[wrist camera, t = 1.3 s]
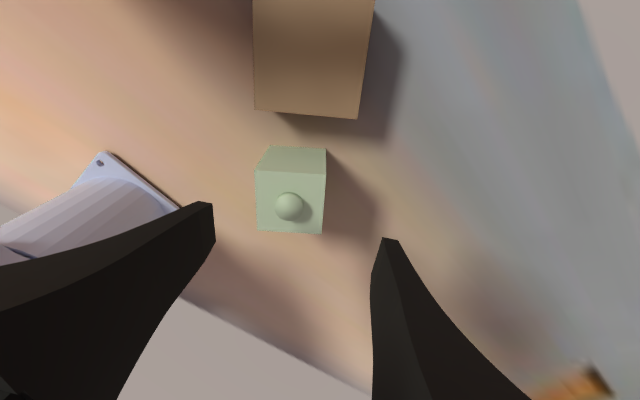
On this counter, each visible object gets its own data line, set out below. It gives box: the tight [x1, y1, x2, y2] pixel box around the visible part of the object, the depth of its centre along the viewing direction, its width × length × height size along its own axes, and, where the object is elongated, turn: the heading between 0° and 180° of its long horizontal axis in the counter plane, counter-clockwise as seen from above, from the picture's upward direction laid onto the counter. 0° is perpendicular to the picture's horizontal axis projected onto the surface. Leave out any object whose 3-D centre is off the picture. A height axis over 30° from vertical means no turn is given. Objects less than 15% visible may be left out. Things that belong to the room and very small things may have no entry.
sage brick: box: [254, 145, 326, 234], centre depth 18 cm, size 4×4×6 cm
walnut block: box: [252, 0, 375, 119], centre depth 16 cm, size 6×6×3 cm
